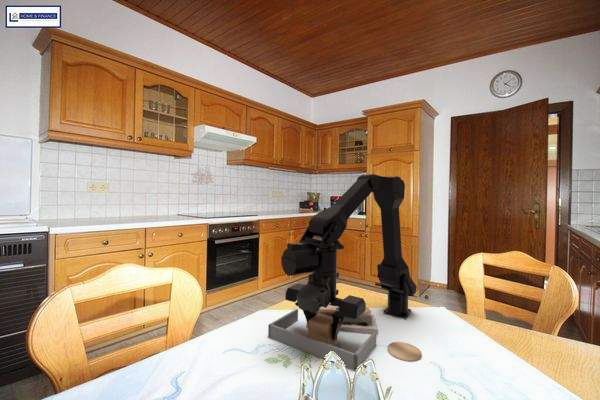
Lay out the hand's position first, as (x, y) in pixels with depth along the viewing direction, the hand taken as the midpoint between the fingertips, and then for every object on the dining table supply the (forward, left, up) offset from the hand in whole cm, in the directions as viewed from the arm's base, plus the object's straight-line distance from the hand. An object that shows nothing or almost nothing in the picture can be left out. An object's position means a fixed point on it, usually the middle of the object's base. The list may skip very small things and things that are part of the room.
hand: (322, 335), depth 66 cm
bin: (+1, 0, -1) cm, 1 cm away
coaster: (-6, +17, -1) cm, 18 cm away
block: (0, 0, -1) cm, 1 cm away
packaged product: (-11, 0, -2) cm, 11 cm away
